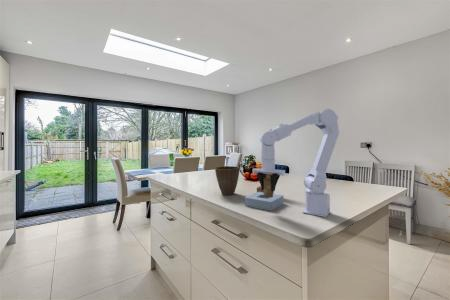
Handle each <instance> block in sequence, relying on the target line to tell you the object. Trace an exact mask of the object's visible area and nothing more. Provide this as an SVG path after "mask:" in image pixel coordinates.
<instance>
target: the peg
mask: <svg viewBox="0 0 450 300" xmlns="http://www.w3.org/2000/svg"><path fill="white" fill-rule="evenodd" d="M264 197H266V198H272V197H273V191H271V178H264Z"/></svg>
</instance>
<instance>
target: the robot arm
mask: <svg viewBox="0 0 450 300" xmlns="http://www.w3.org/2000/svg"><path fill="white" fill-rule="evenodd" d="M338 119H339V116H338V115H337V113H336V112H335V111H334V110H333V109H331V108H326V109H323V110H322V111H321V110H320V111H317V112H314V113H309V114H308V115H306V116H304V117H302V118H299V119H298V120H296V121H294V122H292V123H290V124H287V123H280V124H278V126H276V127H275V128H270V129H269V130H267V131H266V132H264V133H262V135H261V136H260V138H259V140H260V143H261V149H260V152H261V154H260V155H261V168H255V167H254V168H252V174H256V178H257V180H258V181H259V184H260V186H261V188H262V190H264V178H266V174H272V175H270V178H271V191H274V192H275V191H276V188H277V187H276V186H277V184H278V181H279V179H280V177H281V176H286V170H285V169H278V168H277V169H276V166H275V165H276V159H275V158H276V157H275V156H276V154H275V151H276V150H275V144H276V142H280V141H281V140H283V139H286V138H287V137H289V136H291V135H292V133H293V131H296V130H298V129H300V128H303V127H305V126H307V125H312V126H313V125H315V126H316V127H317V128H319V130H321V132H322V133H323V137H322V140H321V143H320V145H319V148H318V151H317V154H316V157H315V160H314V163H313V166H312V168H311V169H310V171H309V172H308V174H307V176H305V177H304V179H303V184H304V186H305V208H304V210H302V213H303V214H308V215H312V216H318V217H324V218H327V217H328V215H329V214H331V207H330V206H331V202H330V201H331V197H330V196H331V195H330V193H326V192H325V191H326V189H327V182H326V181H327V180H328V179H327V174H326V172H327V168H328V166H329V163H330V160H331V158H332V155H333V152H334V148H335V145H336V143H337V140H338V137H339V134H340V129H339V125H338V124H339V123H338V121H339V120H338ZM267 172H272V173H267Z"/></svg>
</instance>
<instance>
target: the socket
mask: <svg viewBox="0 0 450 300" xmlns="http://www.w3.org/2000/svg"><path fill="white" fill-rule="evenodd" d="M281 205H284V195H282V194H275V193H274V194H273V197H272V198H266V197H264V193H263V192H257V191H256V192H255V193H252V194H249V195H247V196H244V207H245V206H246V207H251V208H256V209H261V210H265V211H268V212H269V211H270V212H272V211H273V210H275V209H277V208H278V207H281Z"/></svg>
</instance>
